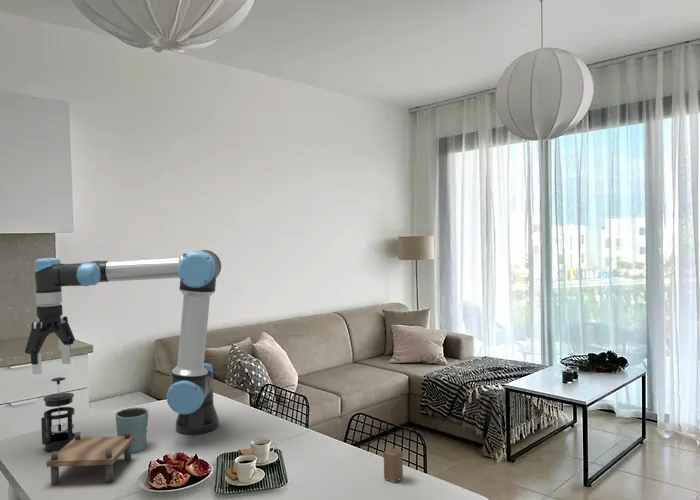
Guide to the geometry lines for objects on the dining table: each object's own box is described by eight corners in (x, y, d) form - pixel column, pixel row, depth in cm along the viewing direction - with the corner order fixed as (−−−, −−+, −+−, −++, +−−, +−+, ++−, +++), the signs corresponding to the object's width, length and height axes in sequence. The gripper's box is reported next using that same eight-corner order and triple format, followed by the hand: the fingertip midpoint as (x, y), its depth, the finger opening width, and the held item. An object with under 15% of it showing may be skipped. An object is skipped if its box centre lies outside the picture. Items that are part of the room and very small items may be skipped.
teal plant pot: (124, 442, 186) (123, 407, 185) (154, 442, 185) (153, 407, 185) (110, 454, 175) (109, 417, 175) (141, 454, 175) (140, 417, 175)
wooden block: (391, 474, 158) (391, 447, 158) (403, 478, 156) (403, 450, 155) (383, 479, 155) (383, 451, 155) (395, 483, 152) (394, 455, 152)
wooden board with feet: (134, 457, 173) (133, 429, 172) (112, 483, 155) (112, 452, 154) (75, 459, 172) (74, 431, 171) (47, 486, 154) (46, 454, 153)
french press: (62, 439, 189) (60, 373, 188) (84, 442, 186) (82, 375, 185) (32, 452, 178) (30, 382, 177) (55, 455, 175) (53, 384, 174)
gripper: (65, 300, 194) (67, 359, 195) (9, 310, 170) (12, 378, 170) (84, 300, 193) (86, 359, 194) (31, 310, 168) (34, 378, 169)
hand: (52, 368), depth 182 cm, fingers open, 13 cm apart
